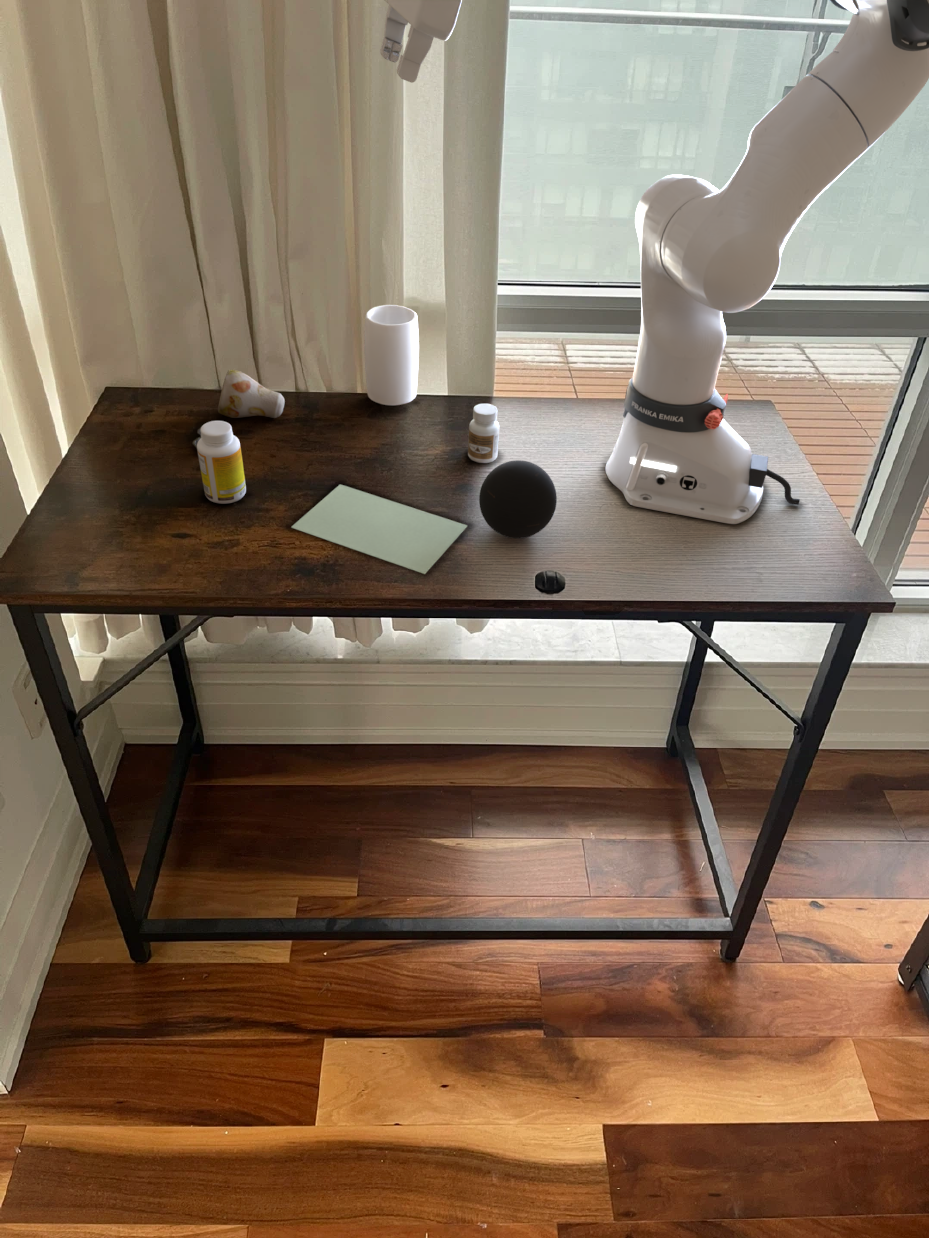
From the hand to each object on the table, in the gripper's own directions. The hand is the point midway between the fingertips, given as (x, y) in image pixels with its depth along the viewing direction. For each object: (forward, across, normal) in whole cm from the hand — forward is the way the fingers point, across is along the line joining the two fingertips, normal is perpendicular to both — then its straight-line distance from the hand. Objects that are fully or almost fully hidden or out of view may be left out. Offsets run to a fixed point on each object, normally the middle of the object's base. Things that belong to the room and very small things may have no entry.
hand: (396, 69), depth 95 cm
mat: (+50, -6, -13) cm, 52 cm away
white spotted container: (+55, +26, 0) cm, 61 cm away
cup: (+48, +28, -21) cm, 59 cm away
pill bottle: (+45, +9, -30) cm, 55 cm away
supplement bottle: (+57, +5, +5) cm, 57 cm away
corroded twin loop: (+57, +19, +6) cm, 60 cm away
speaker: (+45, -11, -30) cm, 55 cm away
